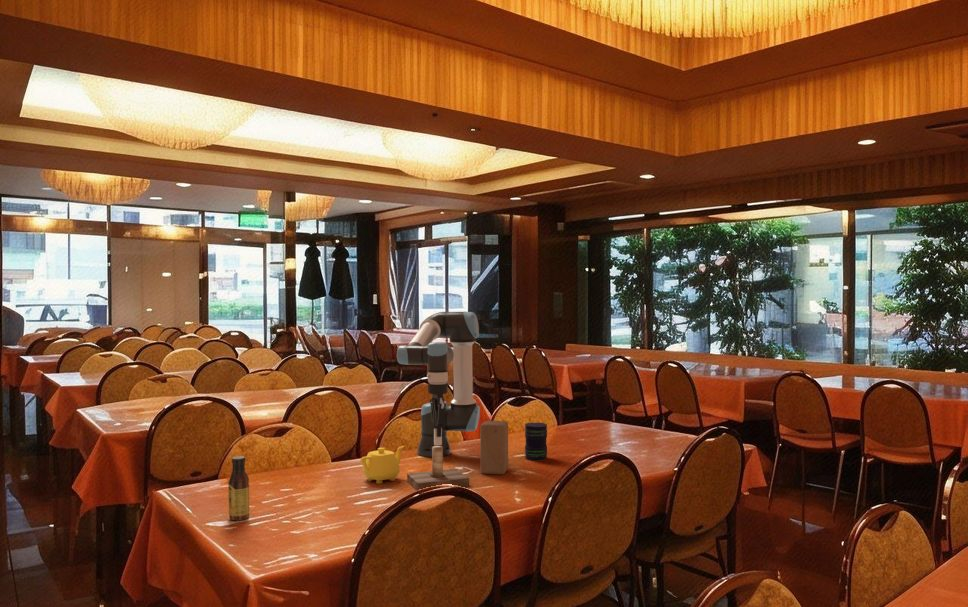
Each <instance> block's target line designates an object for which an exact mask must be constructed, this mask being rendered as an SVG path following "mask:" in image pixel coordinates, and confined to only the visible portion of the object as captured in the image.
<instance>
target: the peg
mask: <svg viewBox="0 0 968 607" xmlns="http://www.w3.org/2000/svg"><path fill="white" fill-rule="evenodd" d="M431 459H432V460H431V461H432V463H431V467H432V468H431V469H432V470H431V471H432V477H433V478H439V477H443V470H444V456H443V447H442V446H434V447H432V457H431Z"/></svg>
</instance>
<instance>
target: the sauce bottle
mask: <svg viewBox="0 0 968 607" xmlns="http://www.w3.org/2000/svg"><path fill="white" fill-rule="evenodd" d="M245 462H246V456H243V455H236V456H233V457H232V458H231V463H232V470H231V474H230V477H229V480H228V515H229V519H230V520H231V521H244V520H246V519H248V518H249V517H250V484H249V482H250V481H249V480H250V479H249V475H248V474H247V472H246V468H245V467H246V466H245V465H246V464H245Z"/></svg>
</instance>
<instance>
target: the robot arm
mask: <svg viewBox="0 0 968 607" xmlns="http://www.w3.org/2000/svg"><path fill="white" fill-rule="evenodd" d="M479 331H480V325H479V320H478V317H477V314H476V313H475V312H473V311H439V312H436V313H433V314H432V315H430V316H428V317H426V318H425V319H424V320H423V321H422V322H421V323H420V325H419V329H418V331H417V332H416V334H415V335H414V336H413V338H412V339H411V340H410V342H409V343H408V344H407V345H406V344H404V345H399V346H398V348H397V351H396V360H397V362H398V364H400V365H409V366H410V365H411V366H412V365H416V366H418V365H420V366H421V365H422V366H423V365H425V366H427V375H426V377H427V382H428V384H427V393H428V394H429V395H432V396H431V399H429V402H428V403H424V404H423V405H422V406H421V411H420V435H421V436H420V440H419V443H418V446H417V449H416V450H417V452H416V453H417V455H419V456H421V457H426V458H427V457H428V458H429V457H430V458H432V447H434V446H442V447H443V457H444V456H449V455H450V454H451V445H450V443H449V439H448V436H447V435H448V434H447V433H448V432H449V431H450V432H465V433H468V432H474V431H476V430H477V428H478V426H479V422H480V414H481V406H480V405H477V401H476V399H475V398H474V397H473V395H474V392H473V388H474V386H473V384H474V383H473V382H474V380H473V378H474V377H473V345H474V344H475V343H476V339H478V338H479V335H480V332H479ZM438 338H447V339H448V338H449V343H450V344H451V345H452V347H451V346H449V345H448V343H446V342H443V341H441V342H440V341H439V342H438V341H436V342H435V341H434V340H436V339H438ZM452 361H453V362H452ZM451 363H452V364H453V365H452V366H453V367H452V368H453V399H452V400H450V404H447V401H445V399H444V394H445V395H446V394H448V392H449V391H448V388H449V386H448V379H449V378H448V377H449V376H448V375H449V373H448V372H449V371H448V365H449V364H451Z"/></svg>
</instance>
